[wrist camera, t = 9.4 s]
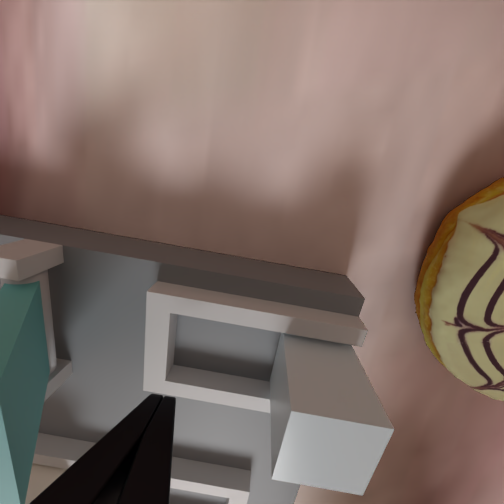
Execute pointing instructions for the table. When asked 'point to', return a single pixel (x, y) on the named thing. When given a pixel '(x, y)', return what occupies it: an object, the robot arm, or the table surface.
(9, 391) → the paddle lever
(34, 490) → the cream slider
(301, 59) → the table surface
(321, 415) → the grey slider
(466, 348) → the decorated donut
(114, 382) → the panel
